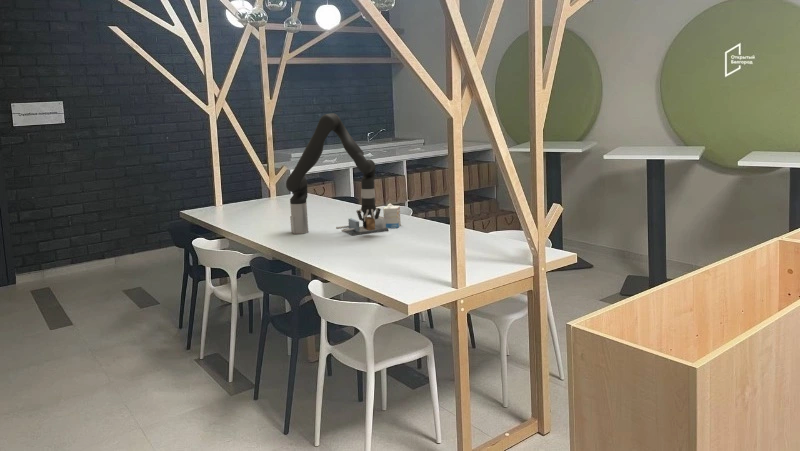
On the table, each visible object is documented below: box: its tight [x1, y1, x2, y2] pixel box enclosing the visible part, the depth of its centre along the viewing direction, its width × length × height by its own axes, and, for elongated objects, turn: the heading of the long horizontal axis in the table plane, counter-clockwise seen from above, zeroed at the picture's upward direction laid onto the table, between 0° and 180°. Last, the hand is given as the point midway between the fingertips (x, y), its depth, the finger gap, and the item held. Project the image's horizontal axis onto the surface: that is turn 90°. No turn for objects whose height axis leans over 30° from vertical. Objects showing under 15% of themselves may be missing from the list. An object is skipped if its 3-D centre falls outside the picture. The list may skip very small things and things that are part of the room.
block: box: [363, 216, 375, 230], centre depth 374 cm, size 4×7×6 cm, turn 25°
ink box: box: [382, 203, 402, 229], centre depth 397 cm, size 9×8×13 cm
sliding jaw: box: [335, 217, 361, 233], centre depth 384 cm, size 10×12×6 cm
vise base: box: [344, 215, 389, 237], centre depth 388 cm, size 22×14×7 cm, turn 114°
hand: (369, 227), depth 374 cm, fingers closed on block, 4 cm apart
